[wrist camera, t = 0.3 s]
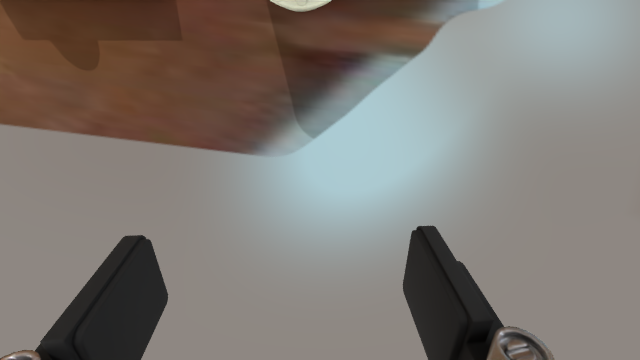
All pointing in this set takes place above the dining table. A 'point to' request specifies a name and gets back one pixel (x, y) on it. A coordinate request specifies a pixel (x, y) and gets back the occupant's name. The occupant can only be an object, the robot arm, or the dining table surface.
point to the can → (300, 4)
